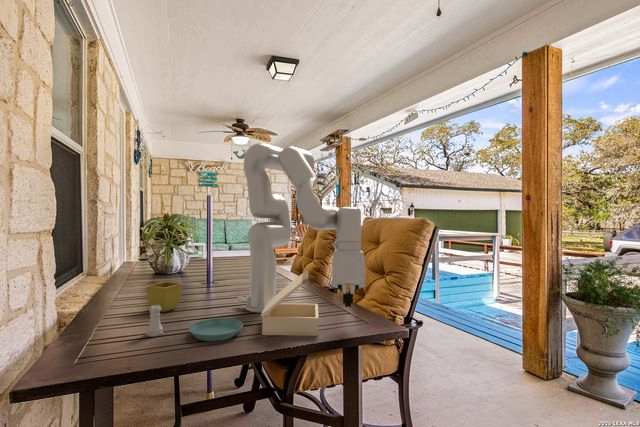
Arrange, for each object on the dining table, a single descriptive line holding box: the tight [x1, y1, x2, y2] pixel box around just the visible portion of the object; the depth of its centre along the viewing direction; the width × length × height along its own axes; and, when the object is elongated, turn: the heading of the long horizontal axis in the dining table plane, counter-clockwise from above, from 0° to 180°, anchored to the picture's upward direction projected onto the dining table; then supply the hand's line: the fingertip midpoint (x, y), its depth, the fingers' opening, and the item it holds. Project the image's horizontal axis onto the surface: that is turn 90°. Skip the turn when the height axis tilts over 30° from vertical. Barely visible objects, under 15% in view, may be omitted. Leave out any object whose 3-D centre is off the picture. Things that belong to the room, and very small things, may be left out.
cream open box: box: [261, 302, 319, 337], centre depth 107 cm, size 16×16×5 cm
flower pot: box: [145, 281, 184, 313], centre depth 122 cm, size 9×9×9 cm
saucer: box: [188, 317, 244, 342], centre depth 98 cm, size 15×15×3 cm
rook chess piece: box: [145, 305, 164, 338], centre depth 97 cm, size 4×4×8 cm
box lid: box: [260, 269, 309, 318], centre depth 107 cm, size 17×16×1 cm
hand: (347, 305), depth 107 cm, fingers closed
